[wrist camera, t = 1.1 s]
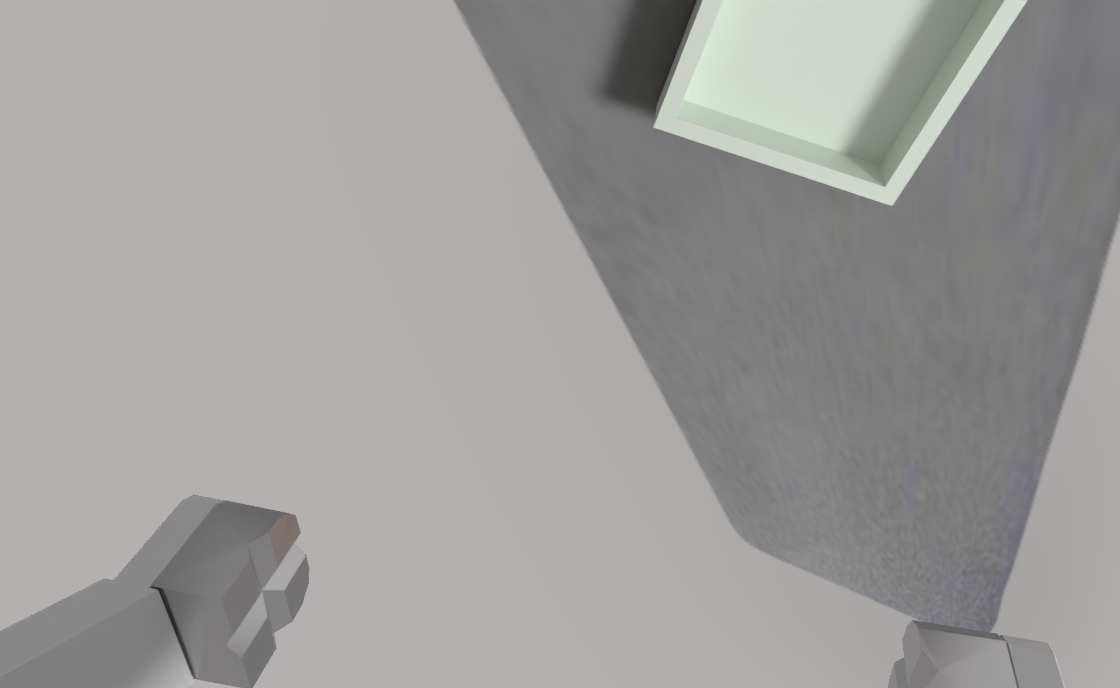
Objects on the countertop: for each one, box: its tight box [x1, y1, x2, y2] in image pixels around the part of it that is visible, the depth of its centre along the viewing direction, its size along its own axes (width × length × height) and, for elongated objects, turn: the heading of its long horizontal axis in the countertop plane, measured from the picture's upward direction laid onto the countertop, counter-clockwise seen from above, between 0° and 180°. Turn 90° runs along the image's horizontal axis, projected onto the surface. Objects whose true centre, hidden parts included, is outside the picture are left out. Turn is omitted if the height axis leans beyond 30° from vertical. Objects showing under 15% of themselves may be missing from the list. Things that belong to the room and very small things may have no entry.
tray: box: [654, 0, 1027, 206], centre depth 37 cm, size 12×12×2 cm
